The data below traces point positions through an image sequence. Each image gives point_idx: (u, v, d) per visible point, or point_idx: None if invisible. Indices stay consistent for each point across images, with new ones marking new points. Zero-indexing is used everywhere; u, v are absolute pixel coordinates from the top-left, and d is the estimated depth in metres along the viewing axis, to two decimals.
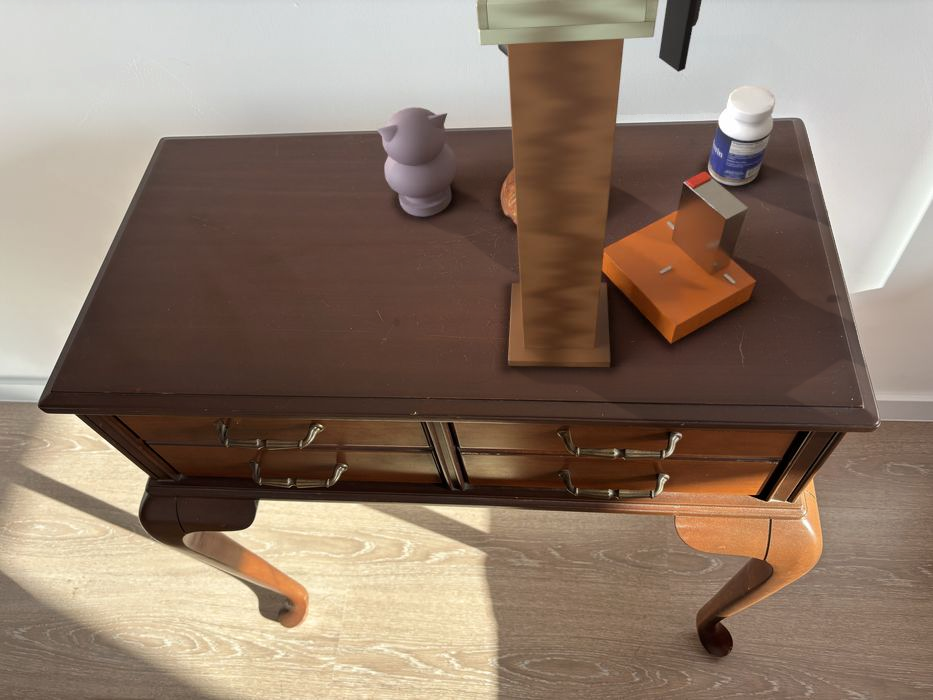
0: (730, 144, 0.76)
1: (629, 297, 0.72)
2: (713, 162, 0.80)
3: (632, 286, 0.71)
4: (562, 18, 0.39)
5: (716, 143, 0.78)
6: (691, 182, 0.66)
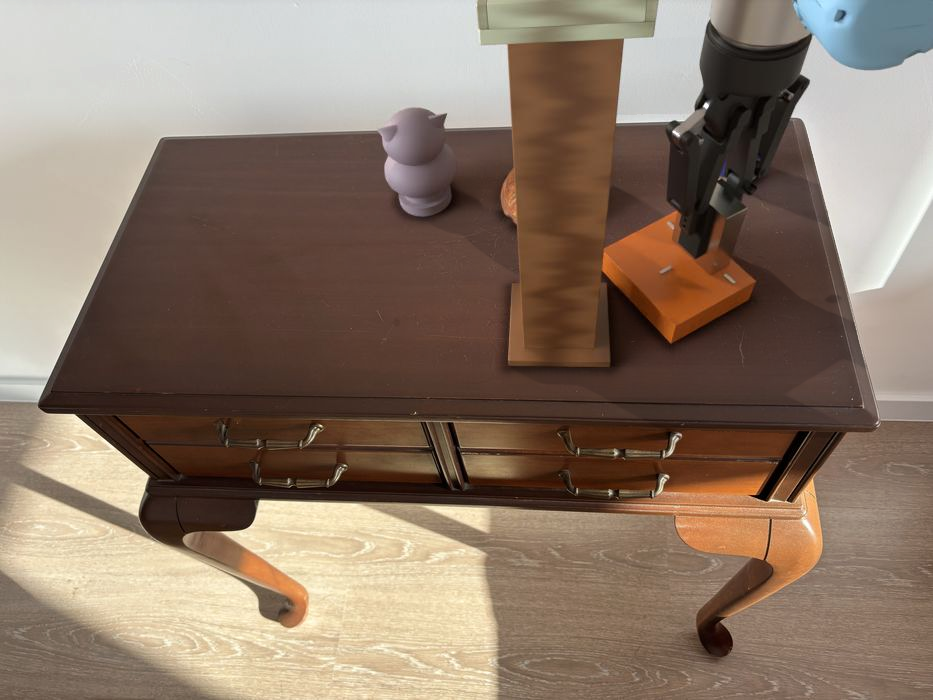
0: None
1: (629, 297, 0.72)
2: None
3: (632, 286, 0.71)
4: (562, 18, 0.39)
5: None
6: None
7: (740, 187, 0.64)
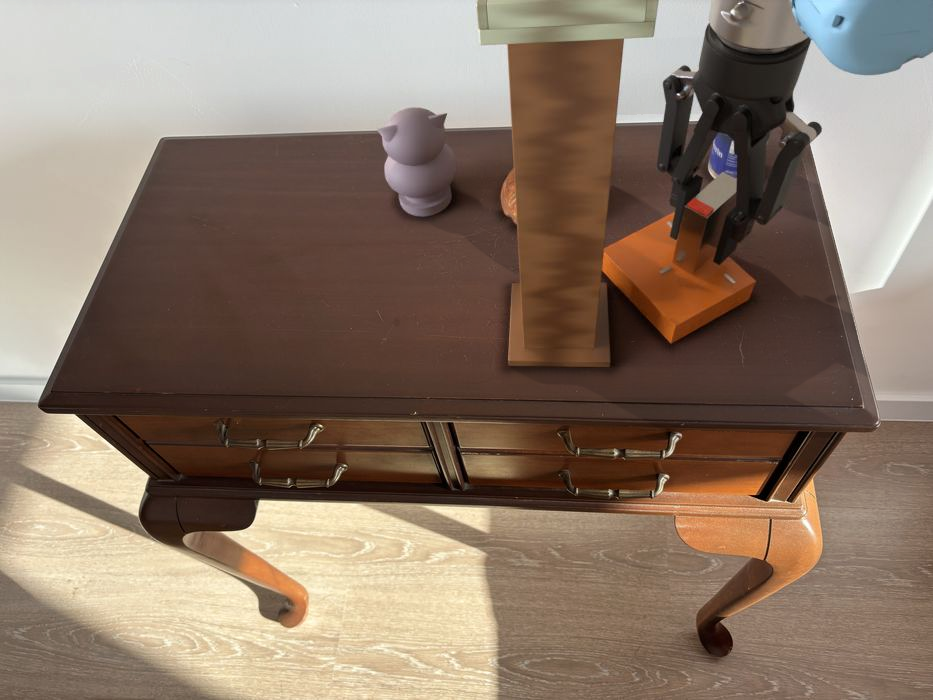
0: (730, 144, 0.76)
1: (629, 297, 0.72)
2: (713, 162, 0.80)
3: (632, 286, 0.71)
4: (562, 18, 0.39)
5: (716, 143, 0.78)
6: (709, 210, 0.64)
7: None
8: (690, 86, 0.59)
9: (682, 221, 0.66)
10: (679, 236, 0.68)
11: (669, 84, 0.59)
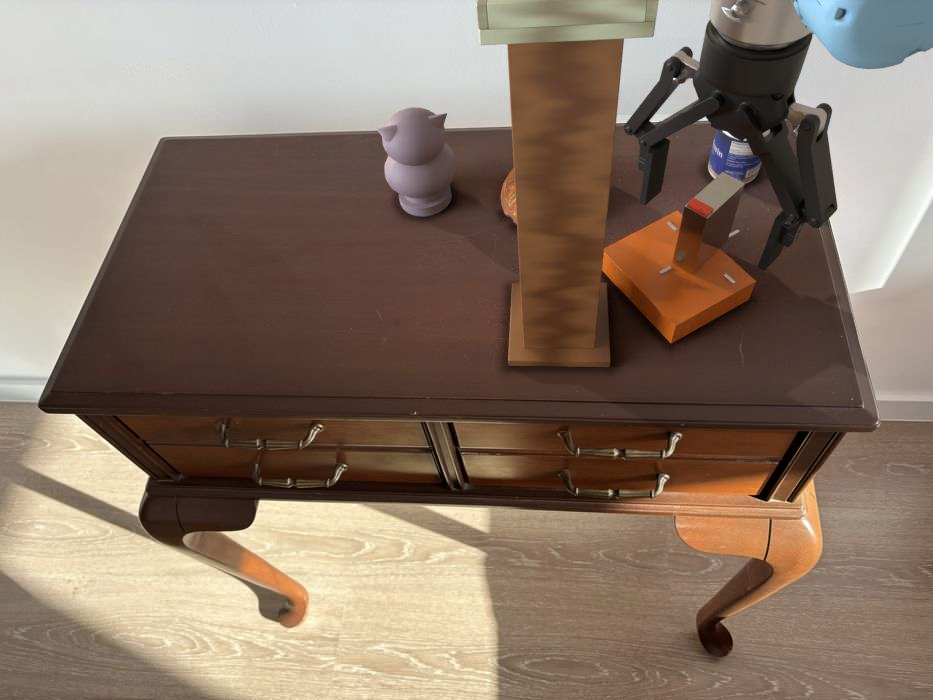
0: (730, 144, 0.76)
1: (629, 297, 0.72)
2: (713, 162, 0.80)
3: (632, 286, 0.71)
4: (562, 18, 0.39)
5: (716, 143, 0.78)
6: (709, 210, 0.64)
7: None
8: (689, 75, 0.58)
9: (682, 221, 0.66)
10: (679, 236, 0.68)
11: (671, 66, 0.58)
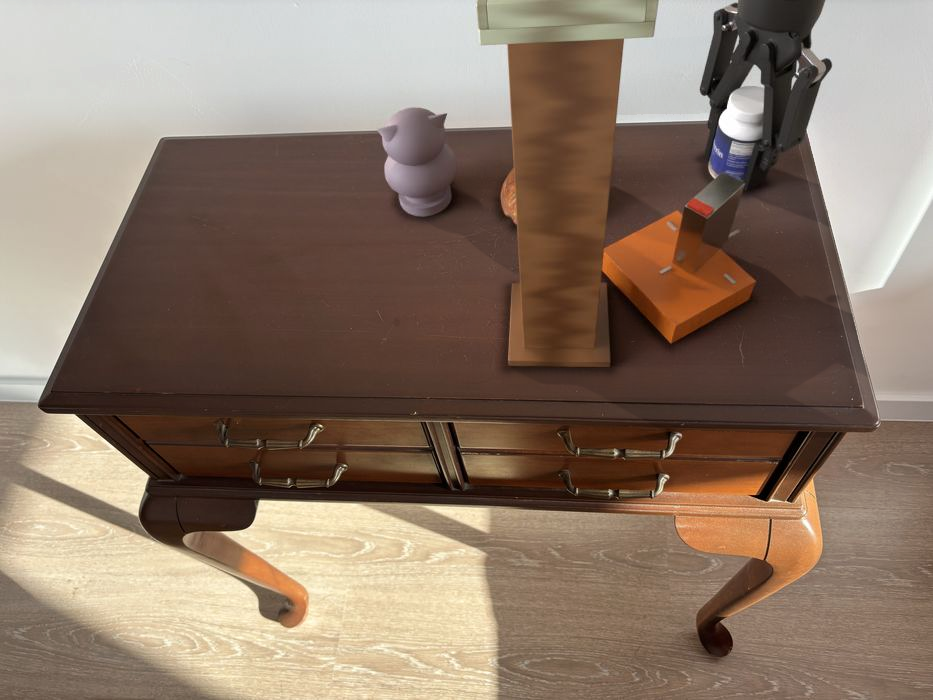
0: (730, 144, 0.76)
1: (629, 297, 0.72)
2: (713, 162, 0.80)
3: (632, 286, 0.71)
4: (562, 18, 0.39)
5: (716, 143, 0.78)
6: (709, 210, 0.64)
7: None
8: (734, 20, 0.70)
9: (682, 221, 0.66)
10: (679, 236, 0.68)
11: (718, 15, 0.71)
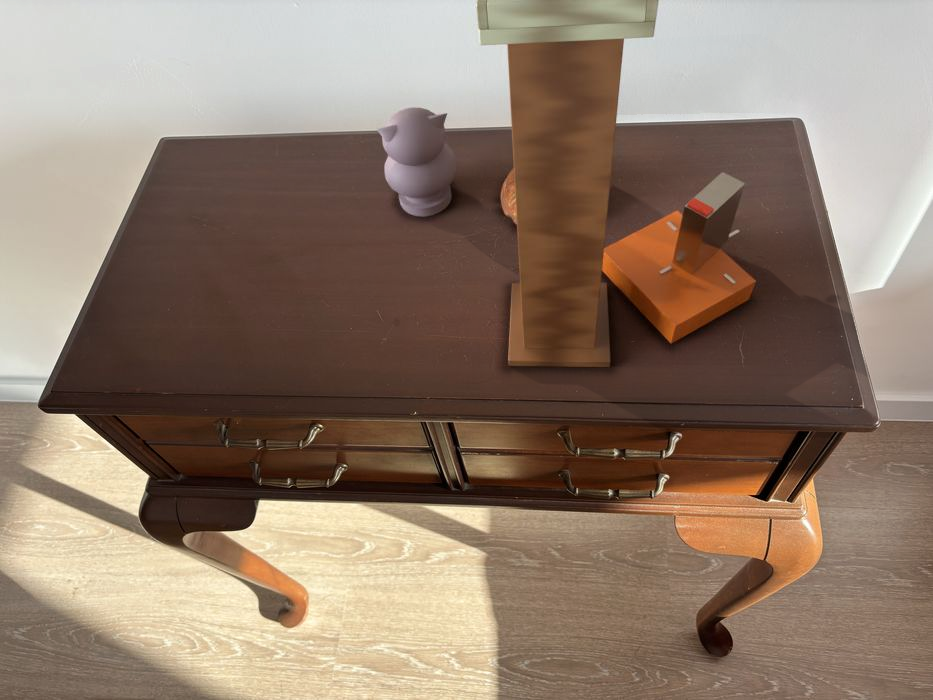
0: None
1: (629, 297, 0.72)
2: None
3: (632, 286, 0.71)
4: (562, 18, 0.39)
5: None
6: (709, 210, 0.64)
7: None
8: None
9: (682, 221, 0.66)
10: (679, 236, 0.68)
11: None
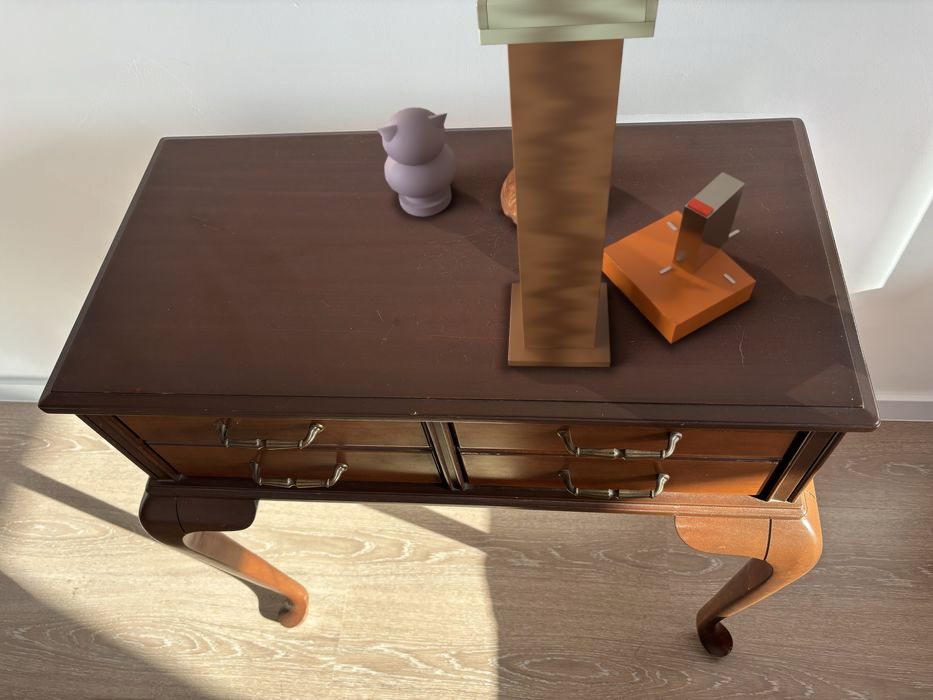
0: None
1: (629, 297, 0.72)
2: None
3: (632, 286, 0.71)
4: (562, 18, 0.39)
5: None
6: (709, 210, 0.64)
7: None
8: None
9: (682, 221, 0.66)
10: (679, 236, 0.68)
11: None
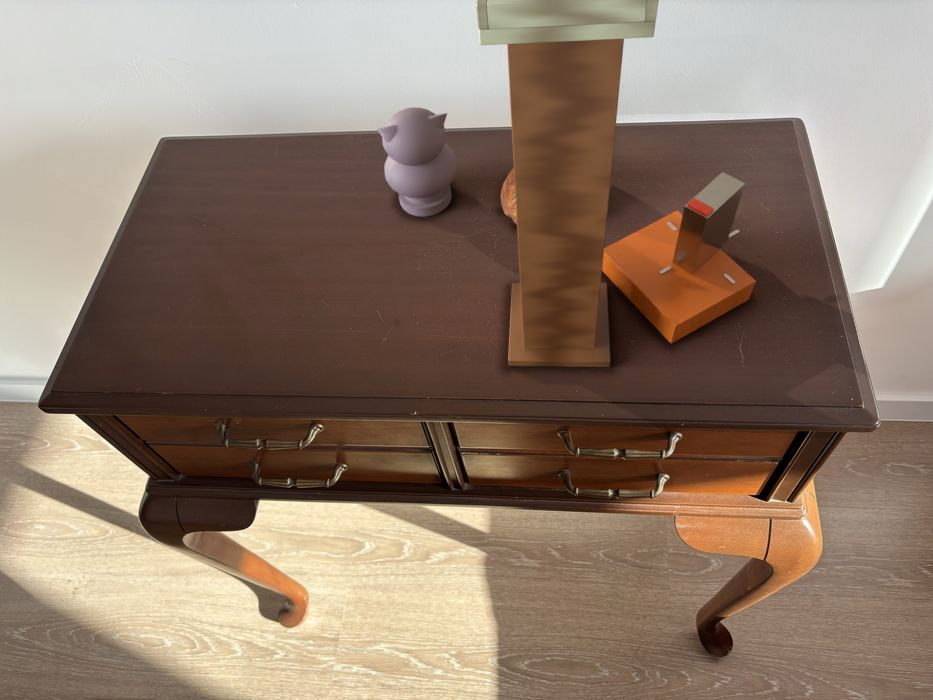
0: None
1: (629, 297, 0.72)
2: None
3: (632, 286, 0.71)
4: (562, 18, 0.39)
5: None
6: (709, 210, 0.64)
7: None
8: None
9: (682, 221, 0.66)
10: (679, 236, 0.68)
11: None
